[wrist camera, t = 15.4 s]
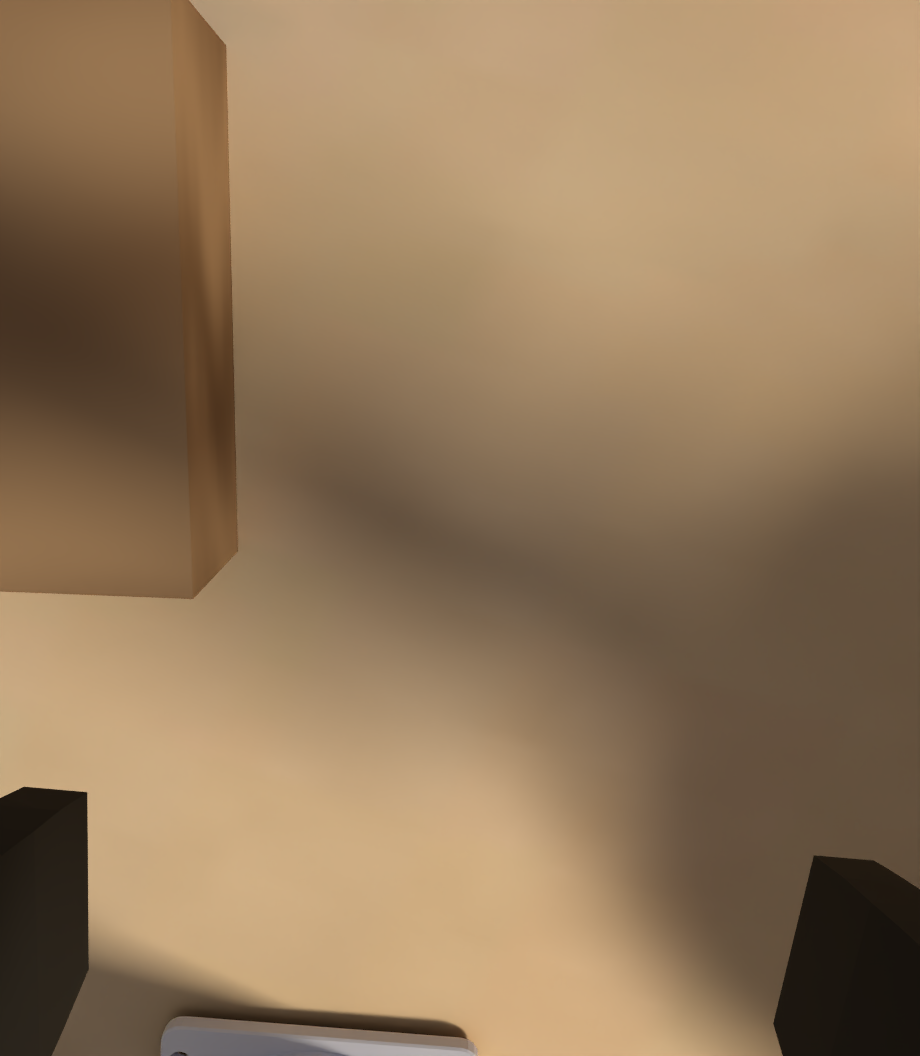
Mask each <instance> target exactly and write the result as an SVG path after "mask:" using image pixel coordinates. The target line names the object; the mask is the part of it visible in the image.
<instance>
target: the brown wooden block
mask: <svg viewBox="0 0 920 1056" xmlns="http://www.w3.org/2000/svg"><path fill="white" fill-rule="evenodd" d="M237 552H238V536H237V493H236V450H235V407H234V365H233V322H232V279H231V236H230V193H229V150H228V107H227V64H226V45H225V44H224V43H223V41H222V40H221V39H220V38H219V36H218V35H217V34H216V33H215V32H214V30H213V29H212V28H211V27H210V26H209V24H208V23H207V22H206V21H205V19H204V18H203V17H202V16H201V15H200V13H199V12H198V11H197V10H196V9H195V7H194V6H193V5H192V4H191V3H190V1H189V0H0V591H5V592H31V593H56V594H82V595H107V596H133V597H158V598H184V599H193V598H194V597H195V596H196V595H197V594H198V593H199V592H200V591H201V590H202V589H203V588H204V587H205V586H206V585H207V583H208V582H209V581H210V580H211V579H212V578H213V577H214V576H215V575H216V574H217V573H218V572H219V571H220V570H221V569H222V568H223V566H224V565H225V564H226V563H227V562H228V561H229V560H230V559H231V558H232V557H233V556H234V555H235V554H236V553H237Z"/></svg>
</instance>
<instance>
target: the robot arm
mask: <svg viewBox="0 0 920 1056" xmlns="http://www.w3.org/2000/svg"><path fill="white" fill-rule="evenodd" d="M88 969H89V963H88V833H87V792H77V791H66V790H54V789H43V788H31V787H23V788H21V789H19V790H16V791H14V792H12V793H10V794H8V795H6V796H4V797H2V798H0V1056H51V1055H52V1053H53V1051H54V1049H55V1047H56V1044H57V1042H58V1040H59V1038H60V1035H61V1033H62V1031H63V1029H64V1026H65V1024H66V1022H67V1019H68V1017H69V1014H70V1012H71V1010H72V1007H73V1005H74V1002H75V1000H76V998H77V995H78V993H79V991H80V988H81V986H82V983H83V981H84V979H85V976H86V974H87V971H88ZM773 1024H774V1027H775V1031H776V1034H777V1037H778V1041H779V1044H780V1048H781V1051H782V1054H783V1056H920V889H918V888H917V887H915V886H914V885H912V884H911V883H909V882H908V881H906V880H905V879H903V878H901V877H900V876H898V875H897V874H895V873H894V872H892V871H890V870H889V869H887V868H885V867H884V866H882V865H880V864H879V863H877V862H875V861H871V860H860V859H848V858H837V857H825V856H814V857H813V862H812V866H811V870H810V874H809V878H808V882H807V886H806V891H805V895H804V899H803V903H802V907H801V911H800V915H799V920H798V924H797V928H796V932H795V936H794V940H793V944H792V949H791V953H790V957H789V961H788V965H787V969H786V973H785V978H784V982H783V986H782V990H781V994H780V998H779V1002H778V1007H777V1011H776V1015H775V1019H774V1023H773ZM178 1052H184V1053H186V1054H187V1055H183V1054H180V1053H178ZM161 1056H478V1051H477V1048H476V1046H475V1044H474V1043H473V1042H471V1041H470V1040H468V1039H464V1038H460V1037H447V1036H434V1035H421V1034H408V1033H396V1032H383V1031H370V1030H357V1029H344V1028H331V1027H319V1026H306V1025H293V1024H280V1023H267V1022H254V1021H242V1020H229V1019H216V1018H203V1017H190V1016H181V1017H176V1018H174V1019H172V1020H170V1021H169V1023H168V1024H167V1025H166V1027H165V1030H164V1032H163V1035H162V1038H161Z"/></svg>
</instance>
